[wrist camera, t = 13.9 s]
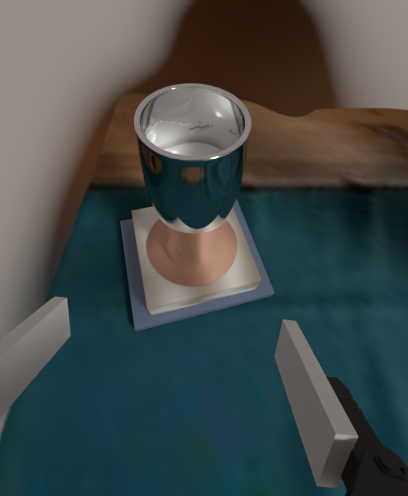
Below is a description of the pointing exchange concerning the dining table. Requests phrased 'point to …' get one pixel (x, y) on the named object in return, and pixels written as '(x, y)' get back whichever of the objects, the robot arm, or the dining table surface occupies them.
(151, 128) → the silver metal cup
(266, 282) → the grey flat slab
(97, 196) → the dining table surface
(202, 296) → the plinth
